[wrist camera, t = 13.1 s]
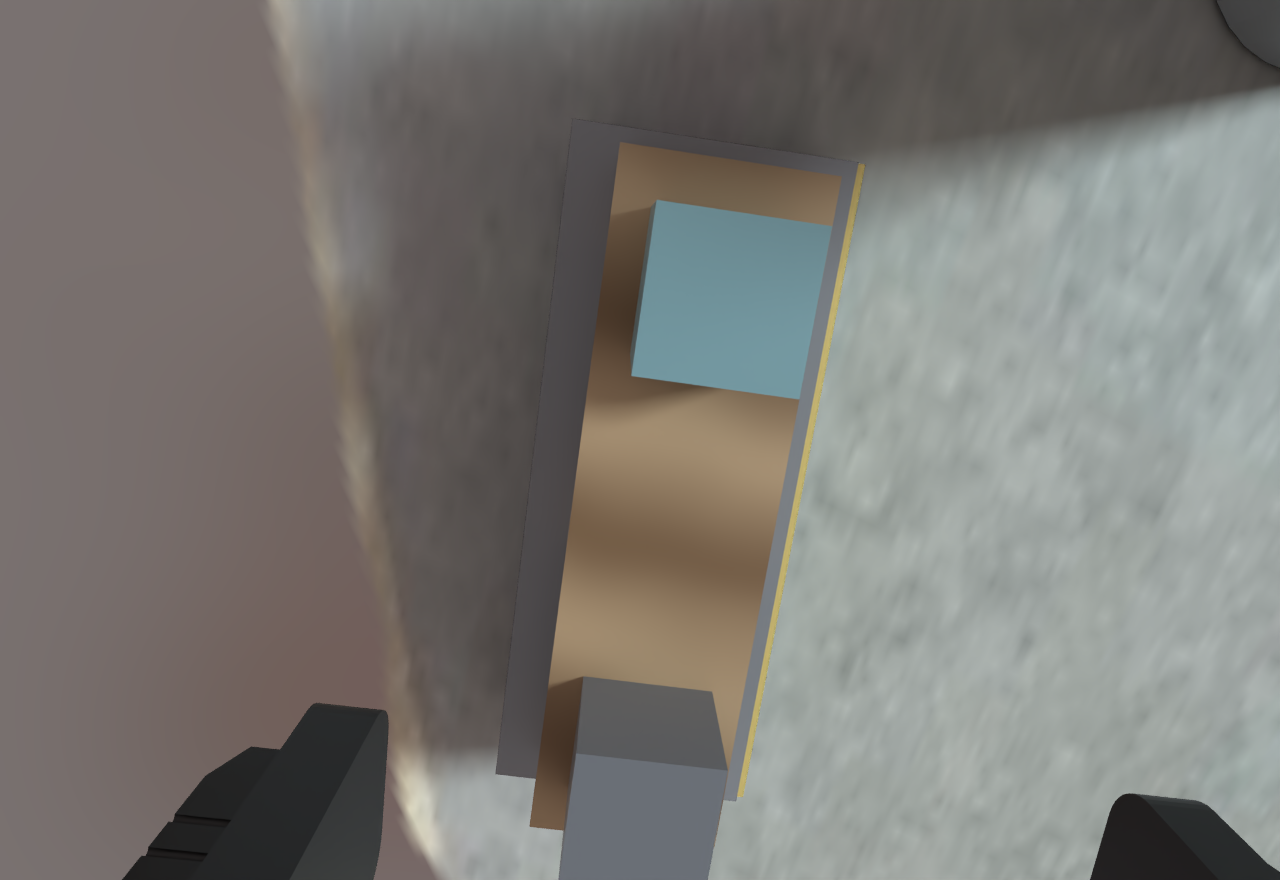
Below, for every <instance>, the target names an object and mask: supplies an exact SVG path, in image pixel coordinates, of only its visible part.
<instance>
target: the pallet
mask: <svg viewBox="0 0 1280 880" xmlns="http://www.w3.org/2000/svg"><path fill="white" fill-rule="evenodd" d="M841 179H842V176H836V175H830V174H823V173H817V172H810V171H804V170H797V169H791V168H784V167H778V166H772V165H765V164H759V163H752V162H746V161H739V160H733V159H726V158H720V157H713V156H707V155H700V154H694V153H688V152H681V151H675V150H668V149H662V148H655V147H649V146H642V145H636V144H629V143H623V142H620V147H619V155H618V162H617V170H616V177H615V185H614V192H613V200H612V208H611V215H610V223H609V230H608V238H607V245H606V253H605V260H604V268H603V276H602V283H601V291H600V298H599V306H598V313H597V321H596V328H595V336H594V344H593V351H592V359H591V366H590V374H589V381H588V389H587V396H586V404H585V411H584V419H583V427H582V434H581V442H580V449H579V457H578V464H577V472H576V479H575V487H574V495H573V502H572V510H571V517H570V525H569V532H568V540H567V547H566V555H565V563H564V570H563V578H562V585H561V593H560V600H559V608H558V615H557V623H556V631H555V638H554V646H553V653H552V661H551V668H550V676H549V683H548V691H547V699H546V706H545V714H544V721H543V729H542V736H541V744H540V751H539V759H538V767H537V774H536V782H535V789H534V797H533V804H532V812H531V819H530V827H537V828H546V829H555V830H564V821H565V812H566V802H567V792H568V784H569V777H570V770H571V763H572V755H573V748H574V741H575V734H576V726H577V719H578V712H579V705H580V698H581V690H582V683H583V676H586V677H594V678H602V679H611V680H619V681H628V682H636V683H645V684H653V685H661V686H670V687H678V688H687V689H695V690H704V691H712V693H713V698H714V703H715V708H716V713H717V718H718V723H719V728H720V733H721V738H722V743H723V748H724V753H725V758H726V763H727V769H728V772H729V767H730V762H731V757H732V751H733V746H734V741H735V736H736V730H737V725H738V720H739V715H740V709H741V704H742V699H743V694H744V688H745V683H746V678H747V673H748V667H749V662H750V657H751V652H752V646H753V641H754V636H755V631H756V625H757V620H758V615H759V610H760V604H761V599H762V594H763V589H764V583H765V578H766V573H767V568H768V562H769V557H770V552H771V547H772V541H773V536H774V531H775V526H776V520H777V515H778V510H779V505H780V499H781V494H782V489H783V484H784V478H785V473H786V468H787V463H788V457H789V452H790V447H791V442H792V436H793V431H794V426H795V421H796V415H797V410H798V405H799V399H793V398H785V397H778V396H771V395H764V394H757V393H750V392H742V391H735V390H728V389H721V388H714V387H707V386H700V385H692V384H685V383H678V382H671V381H664V380H657V379H650V378H642V377H635V376H631V361H630V351H631V344H632V337H633V330H634V323H635V316H636V309H637V302H638V295H639V288H640V280H641V273H642V266H643V259H644V252H645V245H646V238H647V231H648V224H649V217H650V210H651V206H652V205H653V204H654V202H655V201H656V200H662V201H668V202H675V203H682V204H688V205H695V206H701V207H708V208H715V209H721V210H728V211H735V212H741V213H748V214H754V215H761V216H768V217H774V218H781V219H788V220H794V221H801V222H807V223H814V224H821V225H827V226H833V221H834V216H835V210H836V205H837V200H838V195H839V189H840V184H841ZM831 231H832V230H831ZM830 237H831V236H830ZM829 242H830V241H829ZM828 247H829V246H828ZM827 252H828V251H827ZM826 258H827V257H826ZM825 263H826V262H825ZM824 268H825V267H824ZM823 273H824V272H823ZM822 279H823V278H822ZM821 284H822V283H821ZM820 289H821V288H820ZM818 300H819V299H818ZM817 305H818V304H817ZM816 310H817V309H816ZM814 321H815V320H814ZM813 326H814V325H813ZM812 331H813V330H812ZM810 342H811V341H810ZM809 347H810V346H809ZM806 363H807V362H806ZM805 368H806V367H805ZM802 384H803V383H802ZM801 389H802V388H801ZM727 778H728V773H727ZM727 778H726V783H727ZM725 788H726V784H725ZM724 793H725V789H724ZM723 799H724V795H723ZM722 804H723V800H722ZM721 809H722V805H721ZM720 814H721V811H720ZM719 820H720V816H719ZM718 825H719V821H718ZM717 830H718V827H717ZM716 835H717V832H716ZM715 841H716V837H715ZM714 846H715V843H714Z"/></svg>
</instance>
